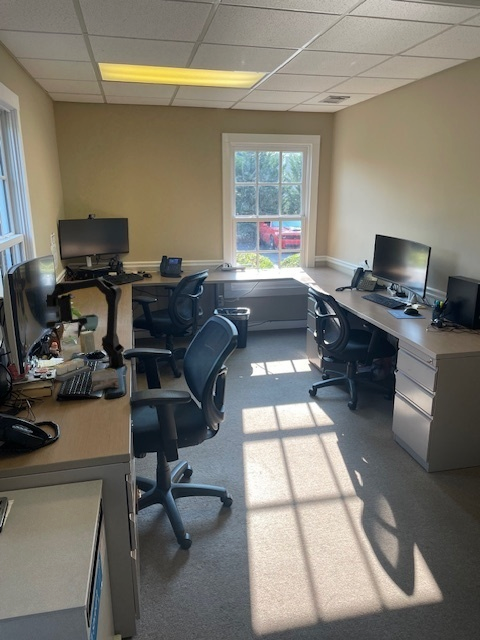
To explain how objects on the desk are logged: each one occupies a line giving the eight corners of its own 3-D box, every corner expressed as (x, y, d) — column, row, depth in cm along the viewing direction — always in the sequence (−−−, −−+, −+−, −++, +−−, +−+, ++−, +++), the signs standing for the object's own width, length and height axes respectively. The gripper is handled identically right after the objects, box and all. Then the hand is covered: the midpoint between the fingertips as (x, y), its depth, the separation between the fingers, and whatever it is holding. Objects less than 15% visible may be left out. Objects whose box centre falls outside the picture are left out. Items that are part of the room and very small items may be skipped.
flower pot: (99, 329, 298) (98, 316, 296) (85, 331, 293) (84, 318, 291) (95, 327, 305) (94, 313, 303) (82, 329, 300) (80, 315, 298)
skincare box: (91, 351, 251) (89, 330, 248) (96, 353, 248) (94, 331, 245) (80, 354, 246) (78, 332, 243) (85, 356, 243) (83, 333, 240)
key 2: (75, 369, 216) (75, 361, 215) (69, 371, 213) (68, 364, 212) (69, 367, 218) (69, 360, 217) (63, 370, 215) (62, 362, 214)
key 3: (67, 372, 212) (66, 364, 211) (60, 375, 208) (59, 367, 208) (61, 370, 214) (60, 363, 213) (54, 373, 210) (53, 366, 210)
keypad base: (90, 370, 220) (90, 366, 220) (63, 381, 207) (62, 377, 206) (76, 367, 225) (75, 363, 225) (48, 378, 211) (47, 373, 211)
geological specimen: (91, 381, 193) (90, 368, 206) (93, 394, 195) (92, 381, 208) (118, 377, 196) (115, 365, 210) (119, 390, 198) (116, 377, 212)
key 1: (84, 366, 220) (83, 358, 219) (77, 368, 217) (76, 361, 216) (78, 364, 222) (77, 357, 221) (71, 367, 219) (70, 359, 218)
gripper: (83, 303, 234) (86, 332, 237) (43, 307, 226) (47, 337, 230) (85, 306, 224) (89, 337, 227) (44, 311, 217) (48, 343, 220)
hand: (68, 338), depth 226 cm, fingers open, 9 cm apart
